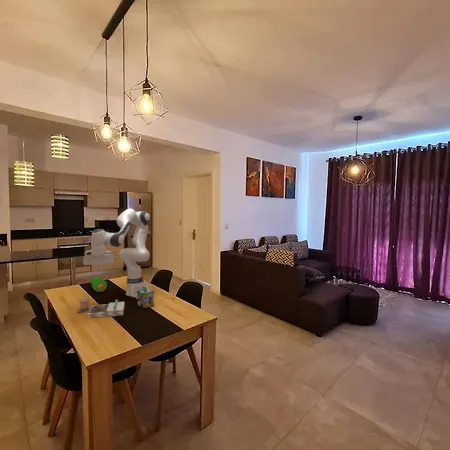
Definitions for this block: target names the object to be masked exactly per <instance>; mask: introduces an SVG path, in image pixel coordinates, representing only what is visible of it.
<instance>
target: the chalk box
mask: <svg viewBox="0 0 450 450" xmlns="http://www.w3.org/2000/svg"><path fill="white" fill-rule="evenodd" d="M144 288H145V287H143V290H140V291H137V292H138V297H137V305H138V306H139V307H140V308H142V309H147V308H151V307H153V306H155V303H154V302H155V301H154V300H155V298H154V297H155V296H154V295H155V294H154V290H153V289H152V290H153V291H152V290H150V289H151V288H150V289H146V288H145V289H144Z"/></svg>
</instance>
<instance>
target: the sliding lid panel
mask: <svg viewBox="0 0 450 450" xmlns="http://www.w3.org/2000/svg"><path fill="white" fill-rule="evenodd" d="M124 303H125V301H119V299H115V300H114V302H108V304H109V305H108V308H107V311H106V312H112V311H123V307H124ZM124 308H125V307H124Z"/></svg>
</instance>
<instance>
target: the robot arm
mask: <svg viewBox="0 0 450 450" xmlns="http://www.w3.org/2000/svg"><path fill="white" fill-rule="evenodd" d="M150 221H151V215H150V213H149V212H148V211H147V210H141V211H140V210H139V211H136V210H135V209H133V208H132V207H131V208H130V207H129V208H127V209H125V210H124V211H122V212H121V213H120V215H118V216H117V218H116V224H117V226H118V227H119V228H120V230H119V231H118V232H108V231H105V229H103V228H97V229H94V230H92V232H91V244H92V245H91V249H89V250H86V251H85V252H84V256H83V259H82V264H83V265H84V266H94V268H96V272H97V271H98V272H99V271H102V268H103V265H113V264H114V263H115V259H114V257H115V252H114V251H111V250H109V251H106V246H110V247H115V248H119V247H121V246H122V244H123V243H124V241H125V238H126V237H127V235H128V234H129V232H130V230H131V227H132V226H134V225H136V228H135V230H134V232H133V235H132V239H131V242H132V244H133V245H134V246H135V248H133V247H131V248H130V247H126V248H122V249H121V250H120V251H119V253H118V255H119V256H118V257H119V259H120V260H122V262H123V263H124V264H125V267H126V270H127V271H126V272H127V278H126V292H125V295H126V296H127V297H132V298H138V292H137V291H140V290H143V287H145V288H146V289H150V290H152V291H154V289H152V288H151V286H150V284H149V283H148V282H146V281H145V278H144V276H142V267H141V266H140V265H138V263H137V262H139V263H140V262H141V263H142V262H147V261H149V259H150V251H149V250H148V249H147V247H146V241H147V236H148V232H149V223H150ZM99 265H100V267H99ZM145 288H144V289H145Z"/></svg>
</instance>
